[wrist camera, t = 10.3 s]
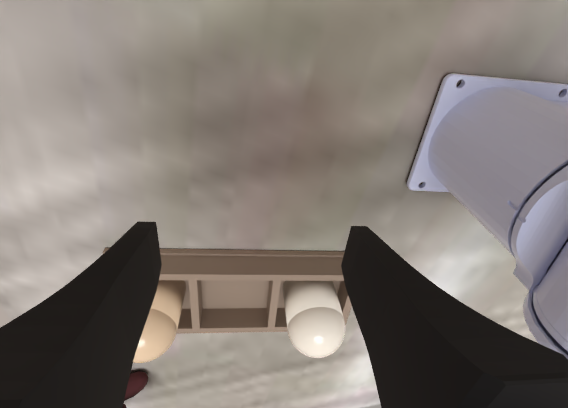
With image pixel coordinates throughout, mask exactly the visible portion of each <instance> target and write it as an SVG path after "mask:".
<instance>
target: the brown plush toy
mask: <svg viewBox="0 0 568 408" xmlns="http://www.w3.org/2000/svg"><path fill="white" fill-rule="evenodd" d="M147 381H148V376H147V374H146V373H145V372H141V371H138V372H134V373H131V374H130V377H129V381H128V385H127V389H126V394H125V399H124V401H125V400H127V399H129V398H131V397H134V396H135V395H136V394H137V393H139V392H140V391H141V390H142V389H143V388H144V387H145V385H146V384H147ZM123 408H126V405H125V404H123Z"/></svg>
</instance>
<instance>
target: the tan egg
mask: <svg viewBox="0 0 568 408" xmlns="http://www.w3.org/2000/svg"><path fill="white" fill-rule="evenodd" d="M185 292H186V284H185V281H184V280H159V282H158V286H157V291H156V294H155V297H154V300H153V303H152V306H151V309H150V312H149V315H148V318H147V320H146V323H145V326H144V329H143V332H142V335H141V338H140V341H139V344H138V347H137V350H136V353H135V356H134V360H133V363H144V362H149V361H152V360H154V359H156V358H158V357H160V356H161V355H162V354H163V353H165V352H166V351H167V350H168V348H169V347H170V346H171V344H172V343H173V341H174V339H175V336H176V333H177V328H178V324H179V319H180V315H181V310H182V306H183V301H184V296H185Z"/></svg>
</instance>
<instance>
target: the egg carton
mask: <svg viewBox="0 0 568 408" xmlns="http://www.w3.org/2000/svg"><path fill="white" fill-rule="evenodd" d="M108 249H109V248H105V249H104V251H103V254H104V253H105V252H106V251H107V250H108ZM160 255H161V263H162V266H161V272H160V277H159V280H184V281H185V284H186V292H185V296H184V301H183V306H182V310H181V315H180V319H179V324H178V328H177V333H229V332H285V331H288V330H287V321H286V312H285V304H284V295H283V284H284V282H285V281H333V283H334V286H335V289H336V293H337V296H338V300H339V303H340V307H341V310H342V313H343V317H344V321H345V325H346V322H347V319H348V316H349V313H350V310H351V306H352V304H351V302H350V299H349V296H348V293H347V290H346V287H345V282H344V278H343V273H342V268H341V264H342V260H343V256H344V251H278V250H213V249H160Z"/></svg>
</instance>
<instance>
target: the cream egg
mask: <svg viewBox="0 0 568 408" xmlns="http://www.w3.org/2000/svg"><path fill="white" fill-rule="evenodd" d="M283 295H284V304H285V312H286V321H287V330H288V335H289V338H290V340H291V342H292V344H293V345H294V347H295V348H296V349H297V350H298V351H299V352H301V353H302V354H304V355H306V356H308V357H312V358H323V357H326V356H329V355H331V354H332V353H334V352H335V351H336V350H337V349H338V348H339V347H340V345H341V343H342V341H343V339H344V336H345V321H344V317H343V313H342V310H341V307H340V303H339V300H338V296H337V293H336V289H335V286H334V283H333V281H285V282H284V284H283Z"/></svg>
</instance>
